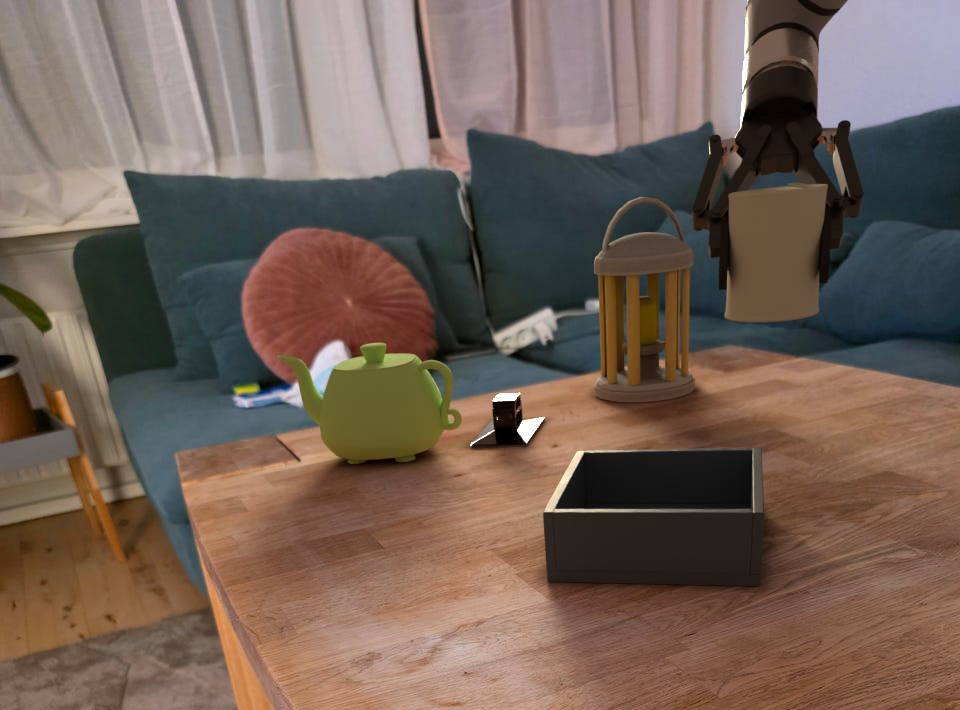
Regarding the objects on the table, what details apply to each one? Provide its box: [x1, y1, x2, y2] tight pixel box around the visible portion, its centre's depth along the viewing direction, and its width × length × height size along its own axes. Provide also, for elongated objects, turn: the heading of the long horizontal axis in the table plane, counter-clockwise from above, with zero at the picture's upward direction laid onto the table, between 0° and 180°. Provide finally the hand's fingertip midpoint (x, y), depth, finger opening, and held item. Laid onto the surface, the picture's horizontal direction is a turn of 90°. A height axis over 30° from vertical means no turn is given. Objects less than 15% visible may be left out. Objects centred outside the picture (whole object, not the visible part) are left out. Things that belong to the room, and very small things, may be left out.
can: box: [724, 181, 828, 323], centre depth 88 cm, size 9×9×12 cm
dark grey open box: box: [542, 447, 765, 587], centre depth 76 cm, size 17×17×6 cm
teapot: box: [277, 342, 463, 465], centre depth 109 cm, size 22×15×13 cm
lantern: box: [593, 196, 696, 403], centre depth 122 cm, size 14×14×25 cm
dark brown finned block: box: [470, 392, 546, 448], centre depth 113 cm, size 12×7×5 cm, turn 166°
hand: (772, 277), depth 87 cm, fingers closed on can, 9 cm apart
